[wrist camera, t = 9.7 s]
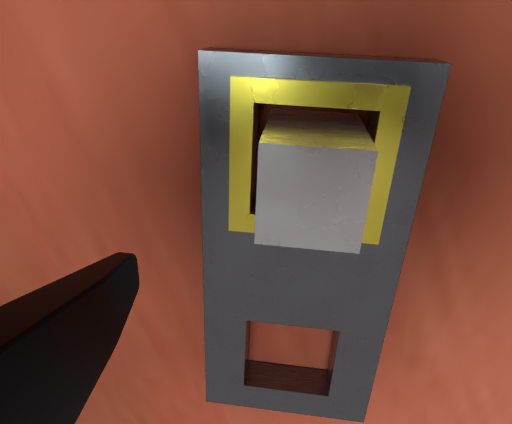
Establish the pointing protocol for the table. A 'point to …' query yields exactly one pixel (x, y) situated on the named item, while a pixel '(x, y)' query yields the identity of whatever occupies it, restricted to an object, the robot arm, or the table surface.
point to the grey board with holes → (299, 259)
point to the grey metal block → (314, 180)
